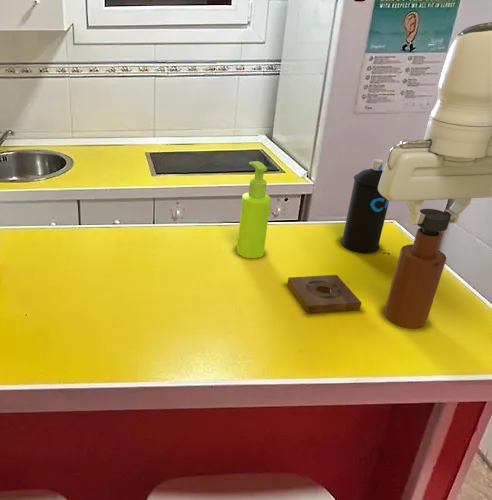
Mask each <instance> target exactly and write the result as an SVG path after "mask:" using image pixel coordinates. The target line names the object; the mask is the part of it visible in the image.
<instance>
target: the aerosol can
mask: <svg viewBox="0 0 492 500" xmlns="http://www.w3.org/2000/svg"><path fill="white" fill-rule="evenodd" d="M372 161H373V162H372V165H371V168H366V169H363V170H361V171H360V172H358V173H356V174H355V175H354V176H353V180H354V181H353V186H352V191H351V195H350V201H349V204H348V210H347V215H346V220H345V225H344V229H343V235H342V238H341V239H340V243H341V245H342V247H344V248H345V249H347V250H349V251H352V252H356V253H359V254H360V253H361V254H372V253H376V252H377V251H378V250H380V241H381V238H382V237H381V236H382V232H383V229H384V224H385V220H386V216H387V212H388V208H389V204H390V201H389V200H387V199H386V198H384V197H383V196H382V195H381V194H380V193H379V191H378V184H379V181H380V178H381V175H382V172H383V170H384V169H383V165H384V160H383V159H380V158H374V159H373V160H372Z"/></svg>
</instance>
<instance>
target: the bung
mask: <svg viewBox="0 0 492 500" xmlns="http://www.w3.org/2000/svg"><path fill="white" fill-rule="evenodd" d="M420 212H421V213H422V214H424V215H426V216H425V219H424V220H423V221H424V223H423V224H420V225H417V226H418V227H419V228H423V231H422V233H423V234H426V235H430V236H435V235H436V232H437V231H440V232H445V231H446V230H447V229H448V227H449V224H450V223H449V221H450V215H449V214H447V213H445V212H444V210H443V211H442V210H440V209H435V208H422V209H420Z"/></svg>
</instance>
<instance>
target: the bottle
mask: <svg viewBox="0 0 492 500" xmlns="http://www.w3.org/2000/svg"><path fill="white" fill-rule="evenodd" d="M422 231H423V228H421V227H419V228H417V230H416V233H415V237H414V241H413V244H406V245H403V246H402V247H401V248H400V251H399V255H398V258H397V263H396V266H395V270H394V274H393V278H392V280H391V281H392V282H391V285H390V288H389V292H388V295H387V300H386V303H385V307H384V312H383V313H384V316H385V318H386V319H387V320H388V321H389V322H390V323H392V324H394V325H396V326H398V327H402V328H405V329H421V328H423V327H425V326H426V323H427V321H428V319H429V314H430V313H431V308H432V306H433V302H434V299H435V296H436V293H437V289H438V287H439V284H440V281H441V277H442V274H443V272H444V271H443V270H444V269H445V264H446V262H447V259H448V258H447V256H446V254H445V253H443V252H442V251H441V250H440V249H439V247H440V244H441V240H442V237H443V233H442V231H437V232H436V235H435V236H430V235H426V234H423V233H422Z"/></svg>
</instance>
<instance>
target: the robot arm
mask: <svg viewBox="0 0 492 500" xmlns="http://www.w3.org/2000/svg"><path fill="white" fill-rule="evenodd" d="M446 54H447V55H446V57H445V60H444V63H443V66H442V70H441V72H440V76H439V80H438V83H437V97H436V98H437V99H436V102H435V104H434V107H433V108H432V110H431V112H430V113H429V117H428V121H427V125H426V129H425V133H424V136H423V139H416V140H409V139H405V140H404V139H403V140H401V141H400V142H399V143H397V144H395V145H393V147H391V148H390V149H389V152H388V154H387V158H386V163H385V165H384V166H383V169H382V170H383V172H382V175H381V178H380V181H379V184H378V191H379V193H380V194H381V195H382V196H383V197H384V198H386V199H387V200H389V202H392V203H393V202H406V204H407V207H408V209H409V212H410V213H409V217H408V222H409V223H410V224H411V225H412V226H418V225H420V224H423V223H424V221H423V220H424V219H425V216H426V215H424V214H422V213H421V212H420V210H421V209H420V207H422V206H423V205H424V202H425V201H437V200H454V202H453V204H452V205H451V206H450V207H449V209H444V210H443V212H445V213H447V214H449V215H450V221H449V224H456V223H458V220H459V217H460V214H462V213H463V212H464V211H465V210H466V209H467V208H468V206H470V205H471V201H472V199H482V198H483V199H484V198H492V21H490V22H484V23H483V22H482V23H478V24H475V25H471V26H467V27H466V28H465V29H463V30H461V31H460V32H459V33H458V34H456V36H455V37H454V40H453V41H452V43H451V45H450V47H449V50H448V51H447V53H446Z"/></svg>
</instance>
